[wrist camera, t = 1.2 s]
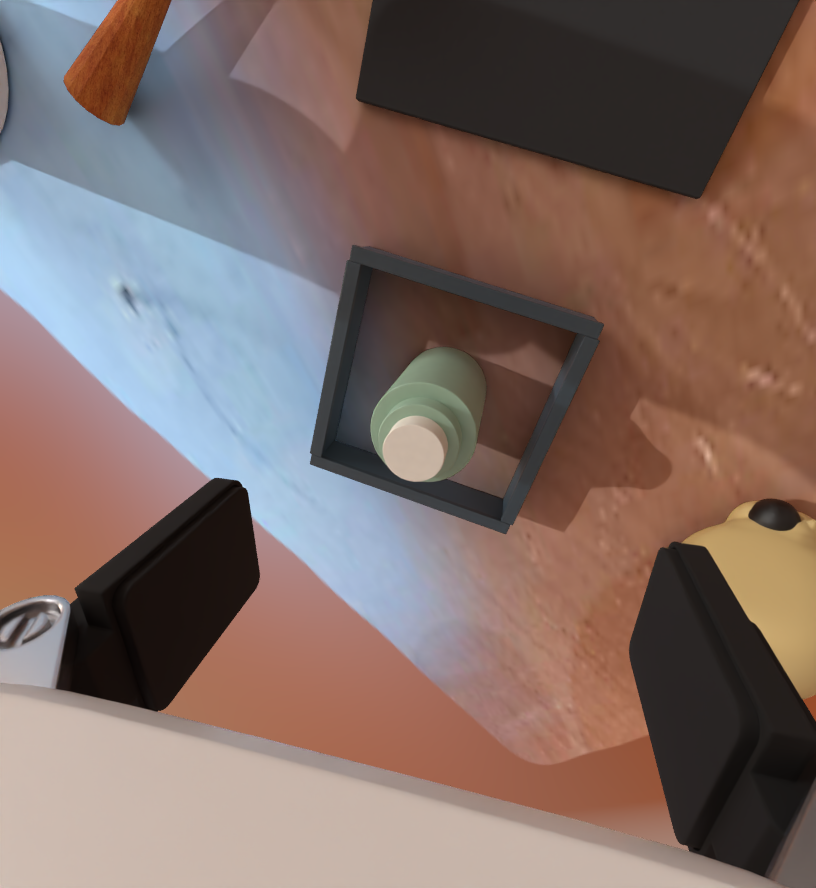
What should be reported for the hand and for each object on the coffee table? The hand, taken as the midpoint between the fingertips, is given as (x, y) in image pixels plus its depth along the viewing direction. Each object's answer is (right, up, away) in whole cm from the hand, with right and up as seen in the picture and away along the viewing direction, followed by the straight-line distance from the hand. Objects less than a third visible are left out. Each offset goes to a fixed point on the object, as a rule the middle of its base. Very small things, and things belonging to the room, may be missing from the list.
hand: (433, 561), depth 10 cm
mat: (+7, +25, +13) cm, 29 cm away
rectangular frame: (+2, +7, +22) cm, 23 cm away
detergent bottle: (+2, +7, +22) cm, 23 cm away
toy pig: (+22, -5, +23) cm, 33 cm away
